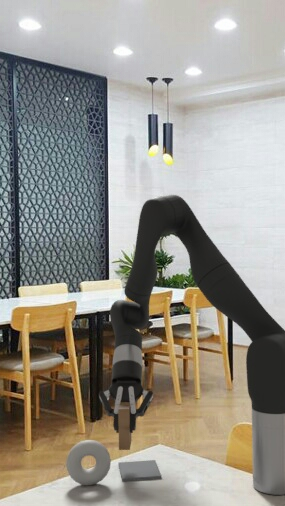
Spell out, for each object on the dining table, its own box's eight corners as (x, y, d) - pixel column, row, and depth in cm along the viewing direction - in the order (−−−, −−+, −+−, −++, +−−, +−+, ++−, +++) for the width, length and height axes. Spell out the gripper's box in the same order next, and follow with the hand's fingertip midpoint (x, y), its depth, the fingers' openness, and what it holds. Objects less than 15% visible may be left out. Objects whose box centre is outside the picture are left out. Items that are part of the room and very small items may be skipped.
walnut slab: (121, 440, 146) (120, 401, 145) (131, 440, 146) (130, 401, 145) (118, 449, 140) (118, 409, 139) (129, 449, 140) (129, 409, 139)
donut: (110, 479, 138) (109, 436, 138) (112, 486, 135) (111, 441, 135) (66, 483, 137) (65, 439, 137) (66, 489, 134) (65, 444, 133)
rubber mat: (155, 462, 148) (155, 460, 148) (161, 478, 139) (161, 475, 139) (118, 465, 147) (118, 462, 147) (122, 481, 137) (122, 478, 137)
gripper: (98, 358, 150) (92, 423, 138) (154, 358, 149) (154, 423, 137) (101, 375, 155) (96, 438, 143) (155, 375, 155) (155, 438, 143)
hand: (124, 431), depth 140 cm, fingers closed on walnut slab, 2 cm apart
